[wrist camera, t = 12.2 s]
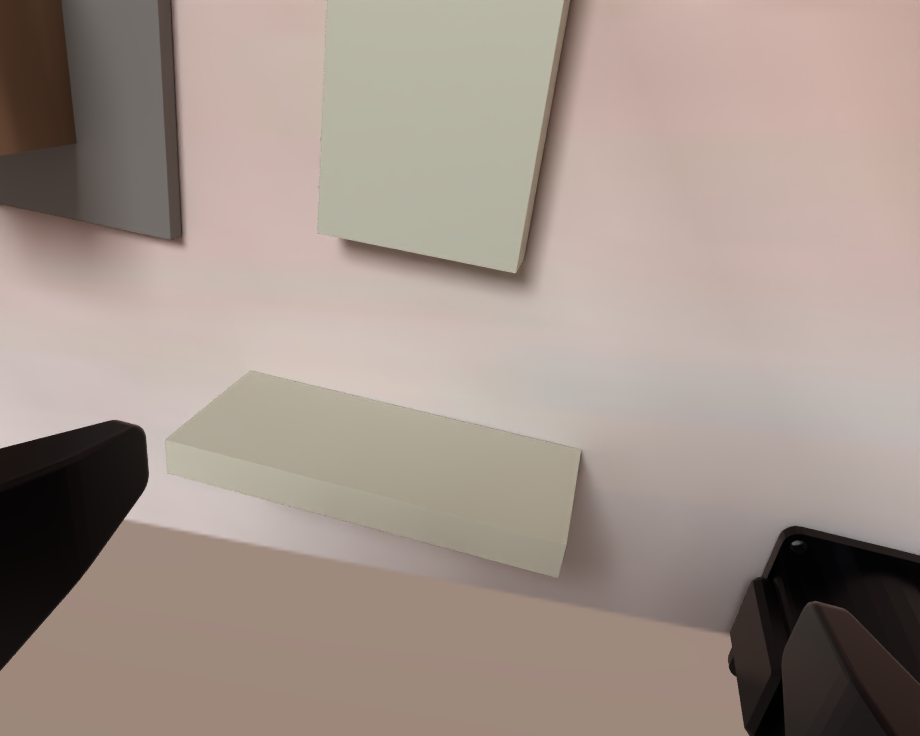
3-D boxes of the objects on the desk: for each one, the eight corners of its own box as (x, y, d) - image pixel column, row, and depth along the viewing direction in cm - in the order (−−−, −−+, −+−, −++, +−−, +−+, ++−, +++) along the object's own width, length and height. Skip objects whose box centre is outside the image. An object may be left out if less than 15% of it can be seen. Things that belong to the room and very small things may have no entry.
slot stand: (804, -449, 14) (882, -688, 9) (573, 479, 24) (558, 578, 19) (247, -468, 16) (90, -677, 11) (249, 399, 25) (167, 473, 21)
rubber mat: (162, -167, 18) (147, -174, 18) (181, 235, 23) (170, 240, 23) (-178, -205, 20) (-200, -212, 20) (-95, 177, 25) (-110, 180, 24)
